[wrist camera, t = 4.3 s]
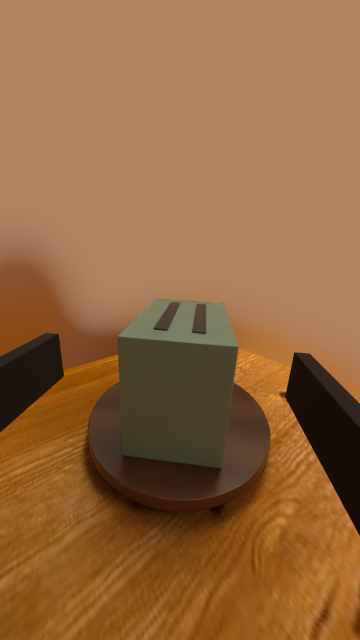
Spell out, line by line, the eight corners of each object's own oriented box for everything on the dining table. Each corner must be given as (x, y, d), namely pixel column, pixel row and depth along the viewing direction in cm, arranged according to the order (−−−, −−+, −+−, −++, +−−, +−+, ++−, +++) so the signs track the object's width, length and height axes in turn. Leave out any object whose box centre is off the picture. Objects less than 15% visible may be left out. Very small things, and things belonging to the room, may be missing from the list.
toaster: (299, 531, 16) (347, 375, 12) (42, 492, 18) (14, 344, 14) (249, 381, 34) (263, 299, 30) (125, 368, 36) (123, 290, 32)
